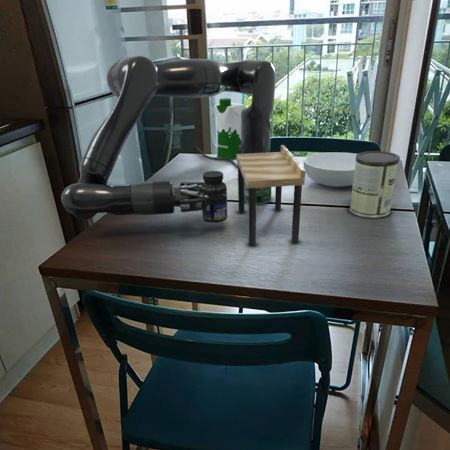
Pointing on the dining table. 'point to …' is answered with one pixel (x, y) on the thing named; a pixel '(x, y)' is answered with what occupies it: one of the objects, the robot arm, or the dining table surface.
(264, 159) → the shelf riser
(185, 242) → the dining table surface
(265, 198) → the canned tomato
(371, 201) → the coffee can
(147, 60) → the robot arm
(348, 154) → the serving bowl
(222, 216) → the pill bottle
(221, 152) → the milk carton
